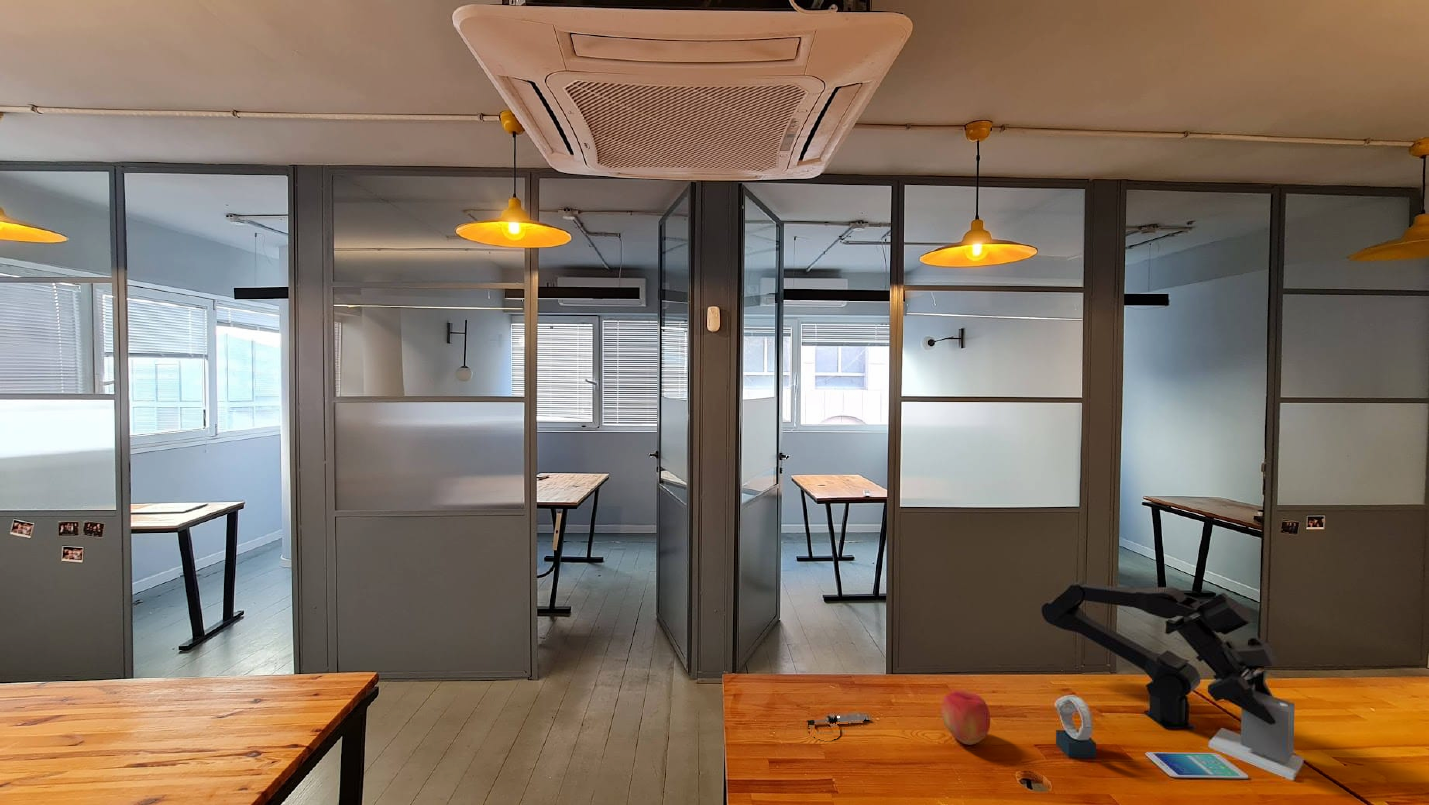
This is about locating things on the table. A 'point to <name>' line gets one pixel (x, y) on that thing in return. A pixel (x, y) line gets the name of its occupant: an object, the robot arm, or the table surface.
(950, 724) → the apple
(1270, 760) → the post stand
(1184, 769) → the smartphone
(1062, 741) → the watch
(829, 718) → the micrometer
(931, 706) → the table surface
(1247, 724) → the gray rectangular block
